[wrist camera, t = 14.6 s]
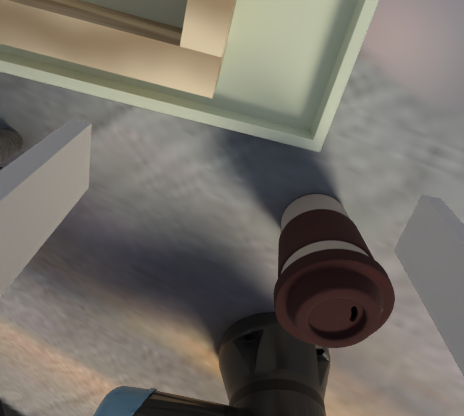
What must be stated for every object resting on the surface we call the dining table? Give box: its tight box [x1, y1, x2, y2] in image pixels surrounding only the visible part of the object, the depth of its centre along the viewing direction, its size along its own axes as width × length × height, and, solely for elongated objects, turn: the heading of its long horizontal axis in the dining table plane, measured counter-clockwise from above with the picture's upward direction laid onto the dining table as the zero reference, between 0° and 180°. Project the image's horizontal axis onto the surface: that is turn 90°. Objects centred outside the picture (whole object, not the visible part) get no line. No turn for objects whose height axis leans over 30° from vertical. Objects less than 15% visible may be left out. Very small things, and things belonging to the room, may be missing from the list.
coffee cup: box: [274, 194, 395, 348], centre depth 38 cm, size 10×10×15 cm
